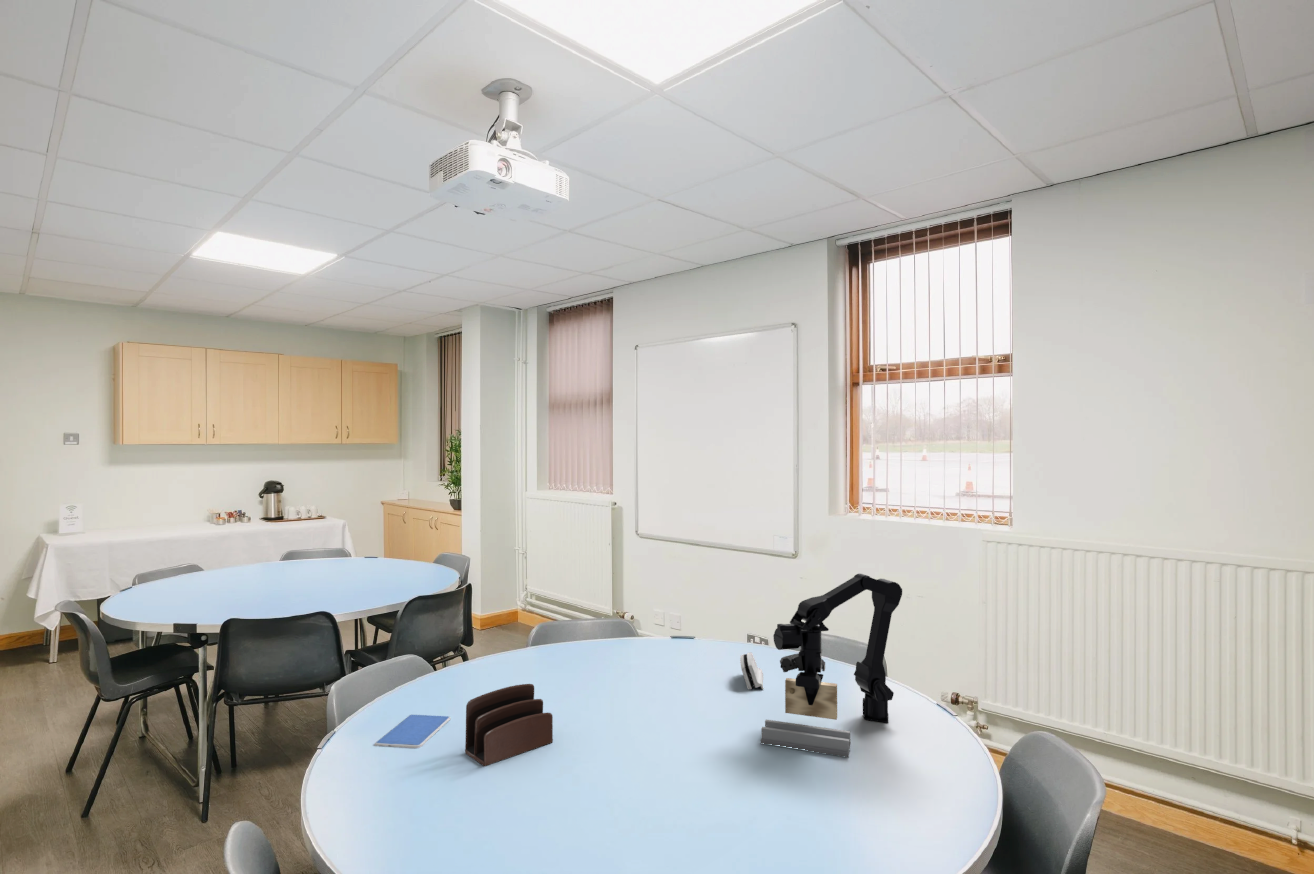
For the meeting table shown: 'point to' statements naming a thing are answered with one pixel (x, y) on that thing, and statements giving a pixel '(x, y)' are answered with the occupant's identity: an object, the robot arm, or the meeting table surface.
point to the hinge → (751, 671)
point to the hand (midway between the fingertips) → (811, 703)
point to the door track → (806, 737)
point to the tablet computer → (413, 731)
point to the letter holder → (506, 724)
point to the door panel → (822, 704)
